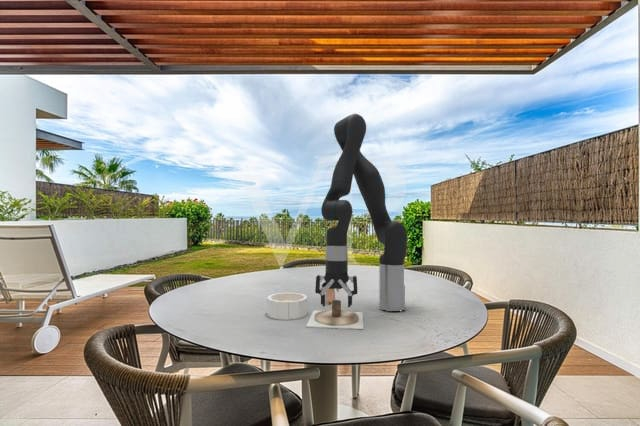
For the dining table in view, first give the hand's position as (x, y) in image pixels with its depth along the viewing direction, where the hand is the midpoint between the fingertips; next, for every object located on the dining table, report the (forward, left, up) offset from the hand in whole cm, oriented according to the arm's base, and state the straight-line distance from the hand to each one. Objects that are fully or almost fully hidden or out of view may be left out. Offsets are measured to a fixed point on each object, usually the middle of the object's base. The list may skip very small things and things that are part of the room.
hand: (336, 306), depth 116 cm
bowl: (+18, -5, -5) cm, 19 cm away
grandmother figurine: (+4, -21, -5) cm, 22 cm away
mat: (0, 0, -5) cm, 5 cm away
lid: (0, 0, -4) cm, 4 cm away
